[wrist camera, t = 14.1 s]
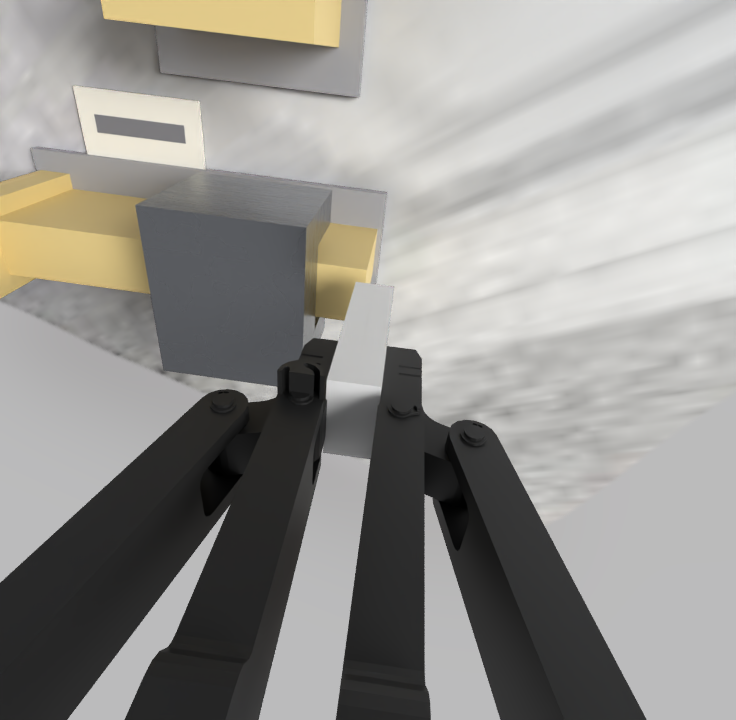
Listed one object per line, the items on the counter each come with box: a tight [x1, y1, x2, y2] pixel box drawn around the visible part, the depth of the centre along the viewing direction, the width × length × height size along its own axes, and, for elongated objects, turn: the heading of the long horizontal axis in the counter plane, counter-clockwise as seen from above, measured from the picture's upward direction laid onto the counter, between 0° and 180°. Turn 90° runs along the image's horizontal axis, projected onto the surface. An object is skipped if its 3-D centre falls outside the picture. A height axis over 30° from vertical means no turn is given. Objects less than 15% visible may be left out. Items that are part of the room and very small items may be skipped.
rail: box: [0, 147, 387, 320], centre depth 21 cm, size 6×18×9 cm, turn 84°
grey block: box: [135, 172, 332, 386], centre depth 20 cm, size 7×6×6 cm
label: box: [73, 86, 206, 169], centre depth 23 cm, size 3×6×1 cm, turn 84°
